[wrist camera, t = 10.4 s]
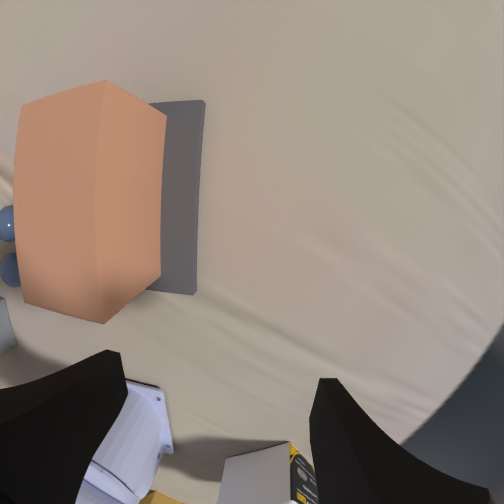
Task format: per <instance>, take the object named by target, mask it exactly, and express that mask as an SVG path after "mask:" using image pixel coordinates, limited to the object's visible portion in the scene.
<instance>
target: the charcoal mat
mask: <svg viewBox="0 0 504 504" xmlns="http://www.w3.org/2000/svg"><path fill="white" fill-rule="evenodd" d="M149 105H150V106H152V107H153V108H155V109H157V110H158V111H160V112H162V113H163V114H165V115H166V116H167V121H166V130H165V142H164V154H163V169H162V188H161V220H160V262H161V276H160V277H159V278H158V279H157V280H155V281H154V282H153V283H152V284H151V285H149V286H148V287H147V288H146V290H153V291H161V292H169V293H177V294H185V295H194V294H195V292H196V291H197V229H198V202H199V182H200V165H201V151H202V137H203V125H204V114H205V103H204V101H203V100H192V101H174V102H162V103H151V104H149Z"/></svg>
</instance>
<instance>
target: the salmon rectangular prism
mask: <svg viewBox="0 0 504 504" xmlns="http://www.w3.org/2000/svg"><path fill="white" fill-rule="evenodd" d="M166 121H167V116H166V115H165V114H163V113H162V112H160V111H158V110H157V109H155V108H153V107H152V106H150V105H149V104H147V103H145V102H144V101H142V100H140V99H139V98H137V97H135V96H134V95H132V94H130V93H128V92H127V91H125V90H123V89H122V88H120V87H118V86H116V85H115V84H113V83H111V82H109V81H107V80H105V81H100V82H96V83H92V84H88V85H84V86H80V87H77V88H73V89H70V90H66V91H63V92H60V93H56V94H53V95H50V96H47V97H44V98H42V99H39V100H36V101H33V102H31V103H28V104H25V105H23V106H22V107H21V113H20V119H19V125H18V133H17V141H16V151H15V163H14V186H13V207H14V230H15V243H16V253H17V262H18V269H19V276H20V282H21V288H22V293H23V298H24V302H25V303H28V304H31V305H34V306H37V307H41V308H44V309H47V310H51V311H54V312H58V313H61V314H65V315H69V316H72V317H76V318H80V319H84V320H88V321H92V322H96V323H100V324H105V323H106V322H107V321H108V320H110V319H111V318H112V317H113V316H114V315H115V314H116V313H118V312H119V311H120V310H121V309H122V308H123V307H125V306H126V305H127V304H128V303H129V302H130V301H132V300H133V299H134V298H135V297H136V296H137V295H139V294H140V293H141V292H142V291H143V290H145V289H146V288H147V287H148V286H149V285H151V284H152V283H153V282H154V281H155V280H157V279H158V278H159V277H160V276H161V262H160V220H161V188H162V169H163V154H164V142H165V130H166Z"/></svg>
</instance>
